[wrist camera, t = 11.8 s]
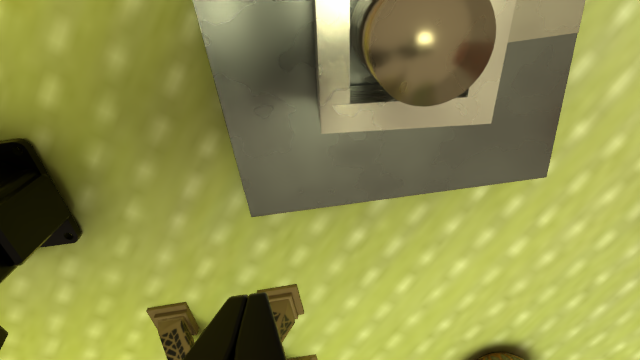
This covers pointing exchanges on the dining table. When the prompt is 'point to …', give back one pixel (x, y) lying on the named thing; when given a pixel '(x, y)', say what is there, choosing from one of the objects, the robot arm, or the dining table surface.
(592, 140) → the dining table surface
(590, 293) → the dining table surface
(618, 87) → the dining table surface
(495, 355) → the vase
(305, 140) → the post base
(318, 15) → the square nut with handle
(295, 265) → the dining table surface
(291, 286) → the eiffel tower
